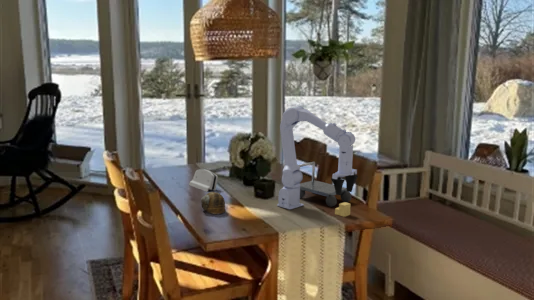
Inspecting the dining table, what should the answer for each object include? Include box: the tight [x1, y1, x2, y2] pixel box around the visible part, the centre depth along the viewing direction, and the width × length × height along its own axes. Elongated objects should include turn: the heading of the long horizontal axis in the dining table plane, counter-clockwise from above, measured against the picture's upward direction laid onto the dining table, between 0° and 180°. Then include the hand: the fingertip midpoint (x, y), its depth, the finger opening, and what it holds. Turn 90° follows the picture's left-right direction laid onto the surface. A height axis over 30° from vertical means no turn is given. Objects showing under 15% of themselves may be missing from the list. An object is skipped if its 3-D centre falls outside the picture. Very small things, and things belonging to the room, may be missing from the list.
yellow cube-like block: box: [334, 201, 352, 218], centre depth 211 cm, size 4×5×5 cm
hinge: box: [189, 168, 219, 193], centre depth 250 cm, size 17×5×10 cm, turn 41°
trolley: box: [298, 161, 352, 208], centre depth 232 cm, size 14×24×16 cm, turn 45°
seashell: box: [200, 191, 227, 215], centre depth 212 cm, size 11×9×8 cm
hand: (343, 193), depth 210 cm, fingers open, 7 cm apart
